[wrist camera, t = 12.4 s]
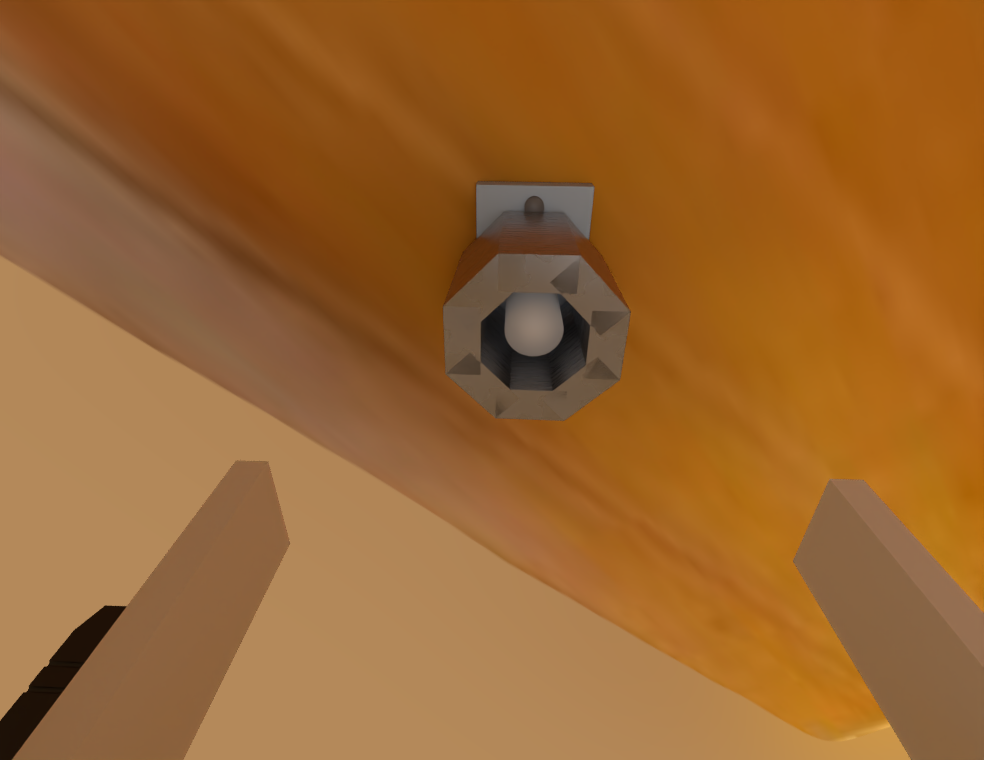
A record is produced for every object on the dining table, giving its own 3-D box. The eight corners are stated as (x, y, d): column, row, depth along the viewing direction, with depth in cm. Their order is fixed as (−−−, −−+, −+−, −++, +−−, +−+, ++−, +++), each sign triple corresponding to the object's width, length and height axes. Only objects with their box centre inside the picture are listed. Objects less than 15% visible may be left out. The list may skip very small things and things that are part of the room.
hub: (464, 340, 30) (447, 416, 23) (462, 210, 26) (441, 252, 19) (591, 344, 29) (613, 422, 22) (607, 213, 26) (639, 257, 19)
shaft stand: (478, 350, 32) (467, 421, 25) (477, 181, 27) (464, 211, 20) (574, 353, 32) (590, 426, 25) (591, 183, 27) (617, 213, 20)
